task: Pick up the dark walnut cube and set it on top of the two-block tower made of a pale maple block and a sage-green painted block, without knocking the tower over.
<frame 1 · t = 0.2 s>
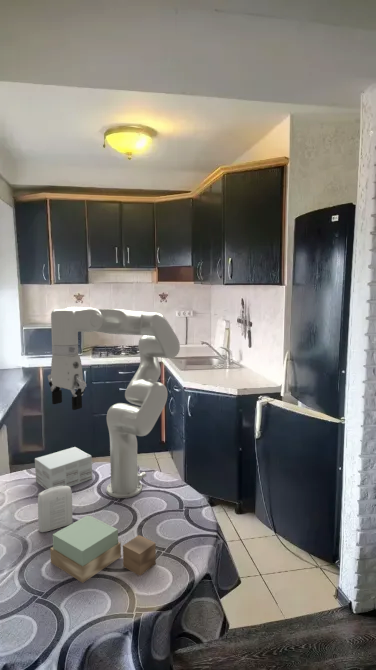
hand: (66, 406, 131), 37 cm above the table, tool pointing down, fingers open, 9 cm apart
photo printer: (56, 526, 132), on the table
walnut cube: (139, 565, 114), on the table
sage top block: (86, 545, 115), point 4 cm above the table
supplement box: (64, 480, 163), on the table
maple base block: (86, 561, 116), on the table
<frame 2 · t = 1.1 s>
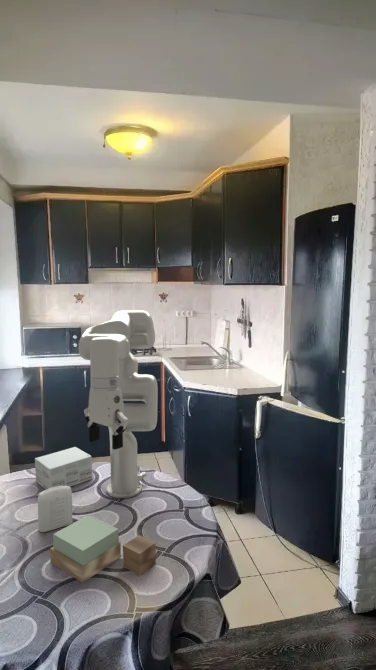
hand: (105, 444, 118), 30 cm above the table, tool pointing down, fingers open, 9 cm apart
sage top block: (86, 545, 115), point 4 cm above the table, touching maple base block
maple base block: (86, 561, 116), on the table, touching sage top block
everything else where it was.
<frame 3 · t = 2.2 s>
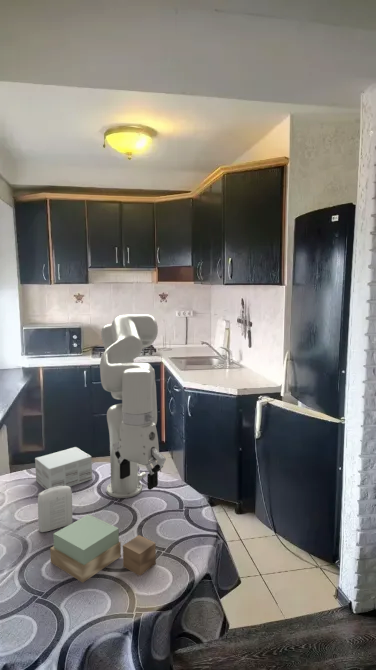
hand: (138, 482, 111), 23 cm above the table, tool pointing down, fingers open, 9 cm apart
nothing on the table moved.
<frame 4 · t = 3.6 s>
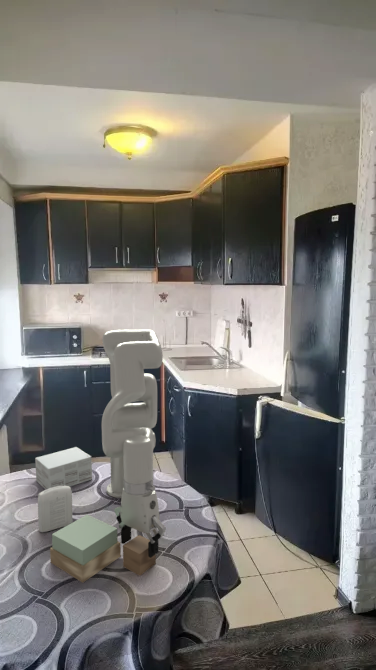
hand: (139, 548, 113), 5 cm above the table, tool pointing down, fingers open, 9 cm apart
sage top block: (85, 545, 116), point 4 cm above the table
maple base block: (86, 561, 116), on the table
everything else where it was.
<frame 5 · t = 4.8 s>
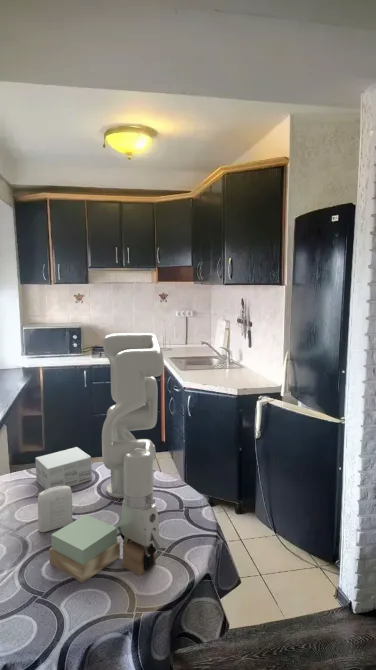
hand: (139, 562, 113), 1 cm above the table, tool pointing down, fingers closed on walnut cube, 6 cm apart
walnut cube: (139, 565, 114), on the table, touching gripper
sage top block: (84, 545, 116), point 4 cm above the table, touching maple base block
maple base block: (85, 561, 116), on the table, touching sage top block
everything else where it was.
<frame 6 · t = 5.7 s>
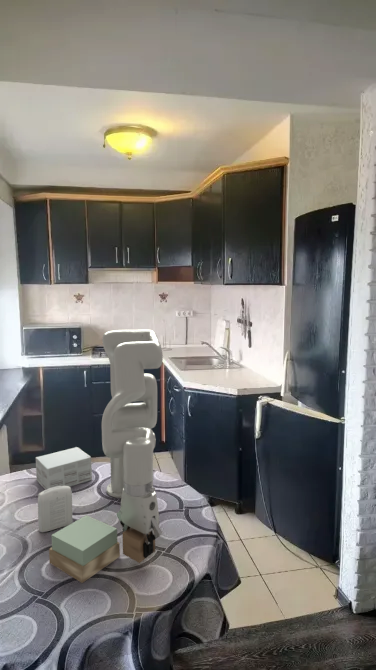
hand: (139, 549, 114), 4 cm above the table, tool pointing down, fingers closed on walnut cube, 6 cm apart
walnut cube: (139, 552, 114), point 3 cm above the table, touching gripper
everything else where it was.
when the fingers open (10 cm above the table, at t = 10.6 s): walnut cube drops 1 cm, resting on sage top block.
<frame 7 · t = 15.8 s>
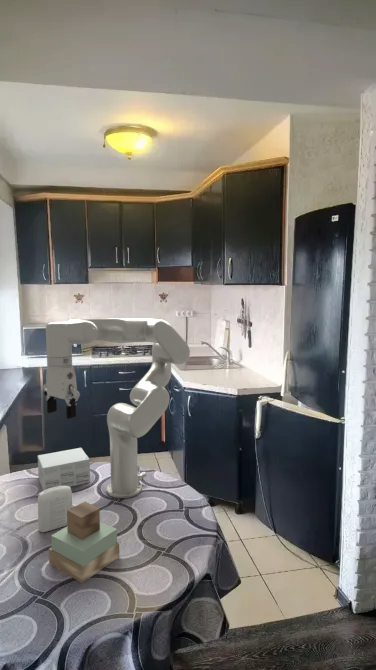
hand: (61, 414, 137), 32 cm above the table, tool pointing down, fingers open, 9 cm apart
walnut cube: (83, 530, 115), point 8 cm above the table, touching sage top block
sage top block: (84, 546, 115), point 4 cm above the table, touching maple base block, walnut cube
at the end: walnut cube 0.8 cm off-centre on the sage top block, point 4.0 cm above the sage top block's base; sage top block 0.3 cm off-centre on the maple base block, point 4.5 cm above the maple base block's base; walnut cube tilted 0° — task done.
